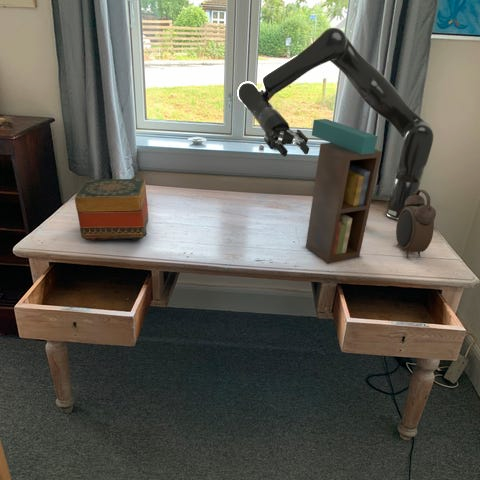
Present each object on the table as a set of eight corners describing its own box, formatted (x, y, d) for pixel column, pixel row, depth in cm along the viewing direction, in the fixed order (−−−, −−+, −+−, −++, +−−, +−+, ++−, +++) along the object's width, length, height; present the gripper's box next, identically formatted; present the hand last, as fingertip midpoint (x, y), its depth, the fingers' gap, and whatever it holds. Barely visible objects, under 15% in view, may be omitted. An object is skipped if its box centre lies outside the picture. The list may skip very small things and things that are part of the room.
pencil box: (311, 135, 142) (313, 119, 140) (323, 134, 144) (326, 118, 142) (361, 154, 127) (364, 137, 124) (374, 153, 129) (377, 136, 126)
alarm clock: (388, 242, 159) (403, 183, 148) (409, 243, 160) (425, 183, 149) (404, 262, 147) (421, 199, 136) (426, 263, 148) (445, 200, 137)
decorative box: (142, 252, 145) (145, 198, 137) (69, 241, 144) (67, 187, 135) (154, 228, 163) (157, 180, 154) (88, 219, 161) (88, 169, 153)
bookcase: (305, 247, 152) (320, 143, 135) (335, 241, 157) (353, 140, 140) (328, 263, 144) (347, 154, 126) (359, 257, 149) (381, 151, 131)
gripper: (258, 114, 156) (282, 144, 149) (293, 112, 162) (318, 141, 155) (252, 135, 162) (275, 164, 154) (286, 132, 168) (310, 160, 161)
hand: (297, 153), depth 155 cm, fingers open, 8 cm apart
